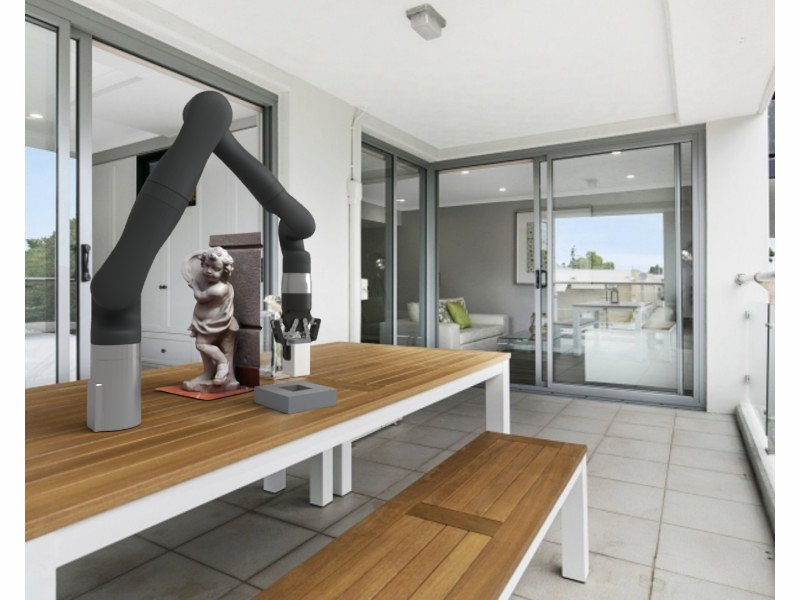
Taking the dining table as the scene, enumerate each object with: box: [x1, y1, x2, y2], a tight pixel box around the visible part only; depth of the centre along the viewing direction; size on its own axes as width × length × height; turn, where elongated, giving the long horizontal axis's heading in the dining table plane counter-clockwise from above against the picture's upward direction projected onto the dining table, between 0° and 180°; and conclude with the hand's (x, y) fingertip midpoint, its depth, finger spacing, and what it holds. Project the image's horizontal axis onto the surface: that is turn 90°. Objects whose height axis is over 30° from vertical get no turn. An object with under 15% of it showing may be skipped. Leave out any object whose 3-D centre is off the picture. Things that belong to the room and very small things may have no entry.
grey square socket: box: [253, 379, 338, 415], centre depth 127 cm, size 14×16×4 cm
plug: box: [282, 336, 311, 378], centre depth 127 cm, size 4×6×9 cm
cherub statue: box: [155, 231, 264, 401], centre depth 142 cm, size 23×19×45 cm
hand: (296, 359), depth 127 cm, fingers closed on plug, 4 cm apart
